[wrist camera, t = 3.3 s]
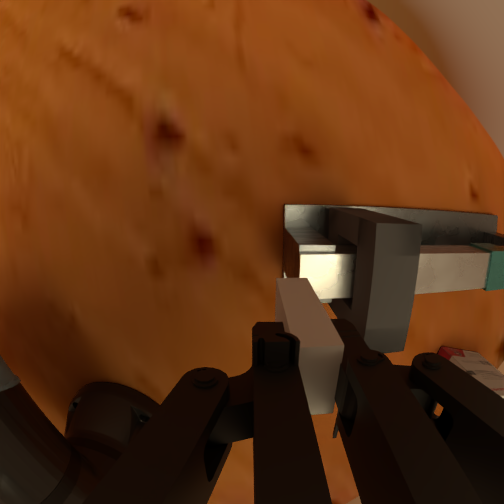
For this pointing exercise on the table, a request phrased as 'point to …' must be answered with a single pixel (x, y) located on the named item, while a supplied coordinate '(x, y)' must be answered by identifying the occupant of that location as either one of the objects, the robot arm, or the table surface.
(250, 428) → the robot arm
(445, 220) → the pipe rail
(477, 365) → the ink box
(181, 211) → the table surface
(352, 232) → the ring collar
